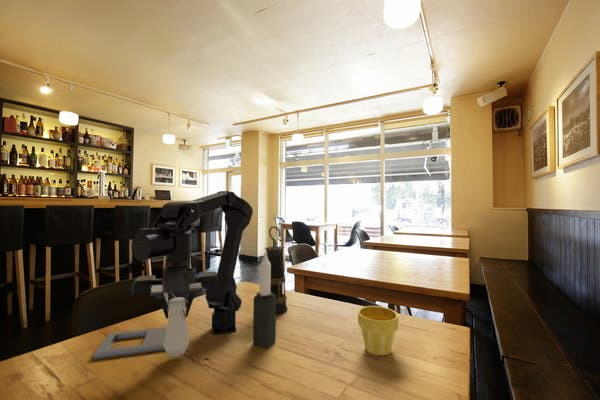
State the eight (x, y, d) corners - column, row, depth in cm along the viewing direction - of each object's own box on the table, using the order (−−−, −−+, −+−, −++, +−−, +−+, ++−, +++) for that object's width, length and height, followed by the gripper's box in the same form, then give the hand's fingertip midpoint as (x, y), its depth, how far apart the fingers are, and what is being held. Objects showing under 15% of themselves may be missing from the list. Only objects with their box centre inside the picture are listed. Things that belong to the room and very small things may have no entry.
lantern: (277, 303, 107) (278, 224, 107) (292, 310, 100) (294, 226, 100) (257, 309, 101) (258, 226, 101) (272, 317, 94) (273, 227, 94)
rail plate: (186, 329, 84) (186, 324, 84) (183, 347, 74) (183, 341, 74) (109, 338, 78) (109, 333, 78) (93, 359, 68) (93, 353, 68)
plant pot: (350, 351, 73) (351, 313, 73) (367, 336, 82) (367, 302, 82) (390, 365, 67) (390, 324, 67) (403, 348, 75) (403, 311, 75)
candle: (277, 340, 78) (278, 251, 79) (267, 349, 74) (268, 254, 74) (261, 336, 81) (262, 249, 81) (251, 344, 76) (252, 252, 76)
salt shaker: (179, 360, 65) (180, 304, 65) (157, 357, 66) (158, 302, 66) (193, 347, 71) (194, 296, 71) (173, 345, 72) (174, 294, 72)
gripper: (125, 262, 58) (123, 337, 58) (218, 257, 64) (217, 326, 64) (138, 252, 69) (137, 316, 69) (217, 249, 74) (216, 308, 74)
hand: (177, 317), depth 69 cm, fingers closed on salt shaker, 4 cm apart
